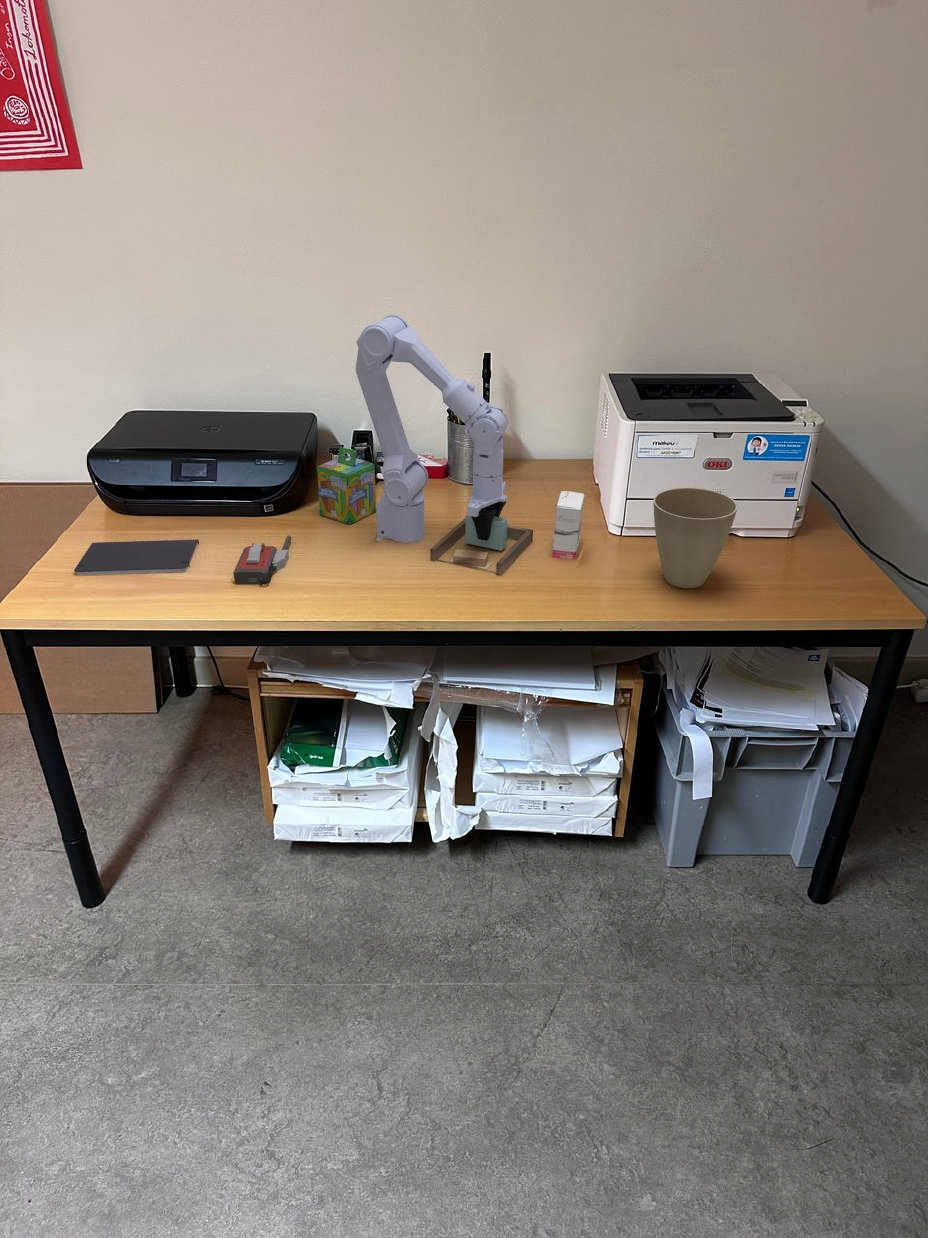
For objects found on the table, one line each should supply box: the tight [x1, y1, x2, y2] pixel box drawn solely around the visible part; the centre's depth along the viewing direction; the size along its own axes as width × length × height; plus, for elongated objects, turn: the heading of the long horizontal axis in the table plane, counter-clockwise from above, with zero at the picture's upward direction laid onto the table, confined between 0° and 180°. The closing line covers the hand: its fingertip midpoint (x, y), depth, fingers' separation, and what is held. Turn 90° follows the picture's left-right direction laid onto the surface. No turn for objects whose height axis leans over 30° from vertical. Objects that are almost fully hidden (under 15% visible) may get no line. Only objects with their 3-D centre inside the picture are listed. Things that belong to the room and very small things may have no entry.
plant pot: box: [653, 486, 739, 589], centre depth 160 cm, size 15×15×16 cm
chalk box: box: [316, 446, 377, 526], centre depth 186 cm, size 9×9×15 cm
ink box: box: [551, 490, 585, 560], centre depth 171 cm, size 9×5×12 cm, turn 168°
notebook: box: [73, 538, 200, 577], centre depth 171 cm, size 13×2×21 cm
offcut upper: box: [452, 548, 489, 567], centre depth 168 cm, size 6×3×2 cm, turn 77°
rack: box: [429, 517, 534, 577], centre depth 172 cm, size 15×17×4 cm
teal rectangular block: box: [464, 514, 508, 551], centre depth 172 cm, size 8×2×6 cm, turn 65°
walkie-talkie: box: [232, 535, 292, 586], centre depth 169 cm, size 9×4×20 cm
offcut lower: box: [448, 557, 494, 570], centre depth 168 cm, size 8×3×2 cm, turn 65°
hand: (486, 536), depth 173 cm, fingers closed on teal rectangular block, 2 cm apart
